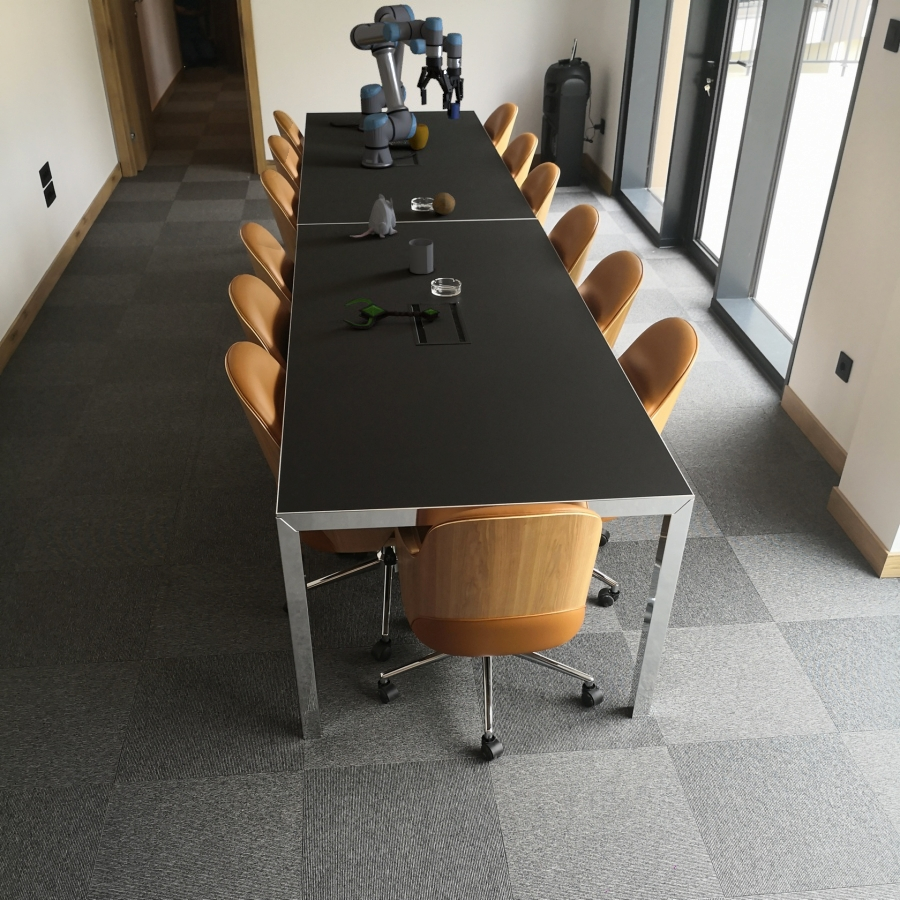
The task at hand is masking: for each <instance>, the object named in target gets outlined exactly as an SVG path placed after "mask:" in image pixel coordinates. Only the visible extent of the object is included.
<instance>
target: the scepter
mask: <svg viewBox="0 0 900 900" xmlns="http://www.w3.org/2000/svg"><path fill="white" fill-rule="evenodd" d="M362 302H363V303H367V304H368V305H366V306H365V307H362V308H360V309H358V312H360V313H359V314H358V317H360V318H362V319H364V320H366V321H368V322H367V323H366V324H357V323H355V322H352V321H349V320H347V319H343V320H342V321H343V322H345V323H346V324H348V325H349V326H351V327H352V328H354V329H361V330H362V329H363V330H368V329H369V330H370V329H371V328H372V327H373V325H374V324H375V323H377V322H379V321H381V320H383V319H385V318H388V317H401V318H403V317H408V318H412V317H414V318H422V319H425V320H426V321H429V322H432V321H434V320H437V319H440V317H441V316H439V314H440V313H441V311H439V310H437V309H434V308H433V307H429V308H427V309H425V310H422V311H410V310H409V311H406V310H405V311H404V310H403V311H399V310H394V311H391V310H390V311H389V310H387V309H386V308H384V307H382V306H380V305H378V304H376V303H375V302H374V300H372V298H368V297H357V298H354V299H352V300H350V301H349V302H347V303H344V304H343V306H344V307H346V306H349V305H353V304H356V303H362Z"/></svg>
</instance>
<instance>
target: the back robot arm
mask: <svg viewBox="0 0 900 900" xmlns="http://www.w3.org/2000/svg"><path fill="white" fill-rule="evenodd" d="M413 20H416V18H415V13H414V11H413V8H412V7H411V6H410V5H408V4H402V3H400V4H392V5H391V4H390V5H383V6H380V7H379V8H378V9H376V10H375V13H374V15H373V23H376V22H389V23H391V22H407V21H413ZM406 46H407V47H409V50H410V52H411V54H413V55H418V56H420V55H424V54H425V55H426V41H425V40H423V39H417V40H405V41H398V43H397V46H396V47H395V52H394V54H393V56H394V60H395V65H396V69H397V74H398V78H399V83H400V87H401V92H402V96H403V101H404V102H406V98H407V91H406V86H405V85H404V82H403V81H402V73H403V64H404V55H405V47H406ZM442 53H446V69H447V75H448V78H449V81H450V85H451V88H452V92H451V93H449V101H448V109H446V116H447V117H448V116H452V103H453V102H452V99H453V94H454V95H455V100H454V103H459V115H460V114H461V102H462V101H463V99H464V81H465V78H463V77H461V75H462V70H463V69H462V61H463V60H462V59H463V58H462V56H463V36H462V34H461V33H459V32H449V33H447V35H444V34H443V44H442ZM359 97H360V112H361V113H360V114H361V115H360V119H359V124H335V123H333V122H329V124H330V125H331V126H333V127H338V128H346V127H348V128H350V127H353V128H354V127H358V130H359V131H361V132H364V128H363V126H364V119H365V118H366V117H367V116H369V115H371V114H376V113H377V114H378V113H383V109H387V105H386V100H385V96H384V92H383V87H382V84H380V83H370V84H365V85H363V86H362V87H361V88H360V93H359Z"/></svg>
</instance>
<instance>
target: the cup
mask: <svg viewBox="0 0 900 900" xmlns="http://www.w3.org/2000/svg"><path fill="white" fill-rule="evenodd" d="M408 253H409V272H411V273H412V274H416V275H426V274H430V273H432V272H434V241H433V240H431V239H428V238H422V237H421V238H420V237H419V238H414V239H411V240H410V241H409V242H408Z"/></svg>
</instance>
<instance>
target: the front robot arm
mask: <svg viewBox="0 0 900 900" xmlns="http://www.w3.org/2000/svg"><path fill="white" fill-rule="evenodd" d="M443 31H444V27H443V19H442V18H441V17H439V16H428V17H426V18H425V19H424V20H422V19H419V18H418V19H415V20H413V21H407V22H391V23H389V22H376V23H374V22H368V23H367V22H366V23H365V22H364V23H359V24H357V25H355V26H353V28H352V29H351V30H350V33H349V40H350V43H351V45H352V46H353V47H354V48H355V49H357V50H359V51H370V53H371V56H372V57H373V58H375V60H376V65H377V70H378V73H379V79H380V82H381V86H382V87H383V92H384V96H385V100H386V105H387V108H386V109H387V110H386V111H385V113H383V112H382V113H378V114H377V113H376V114H371V115H369V116H367V117H366V118H365V119H364V126H363V128H364V131H363V138H364V139H363V140H364V151H363V155H362V159H361V166H362V167H363V168H366V169H371V170H381V169H387V168H390V167H392V166H394V160H400V159H406V158H411V157H412V156H414V155H415V154H416V153H415V152H413V153H411V154H409V155H404V156H398V157H397V156H392V155H391V152H390V151H391V150H390V147H389V145H390V144H389V142H394V141H400V140H404V141H405V140H408V138H411V137H413V135H414V134H415V131H416V124H417V118H416V116H415V115H414V113H412V112H410V110H409V107H408V106H406V105H405V101H403V96H402V92H401V87H400V83H399V78H398V74H397V69H396V65H395V60H394V56H393V54H394V52H395V47H396V46H397V43H398V41H405V40H417V39H423V40H425V41H426V54H425V56H426V57H425V65H423V66H421V71H420V75H419V78H418V81H417V84H416V88H418V89H419V92H420V102H421V104H420V105H421V106H426V105H427V104H428V99H427V97H428V96H427V92H428V91H427V90H428V89H427V86H428V84H429V83H430V81H431V80H435V81H436V82H437V83H438V85H439V87H440V88H441V90H442V92H443V93H442V110H444V111H445V110H447V109H448V101H449V93H451V92H452V88H451V85H450V81H449V78H448V75H447V68H445V69H443V68H442V66H443V64H444V60H443V52H442V44H443V35H444V33H443Z"/></svg>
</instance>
